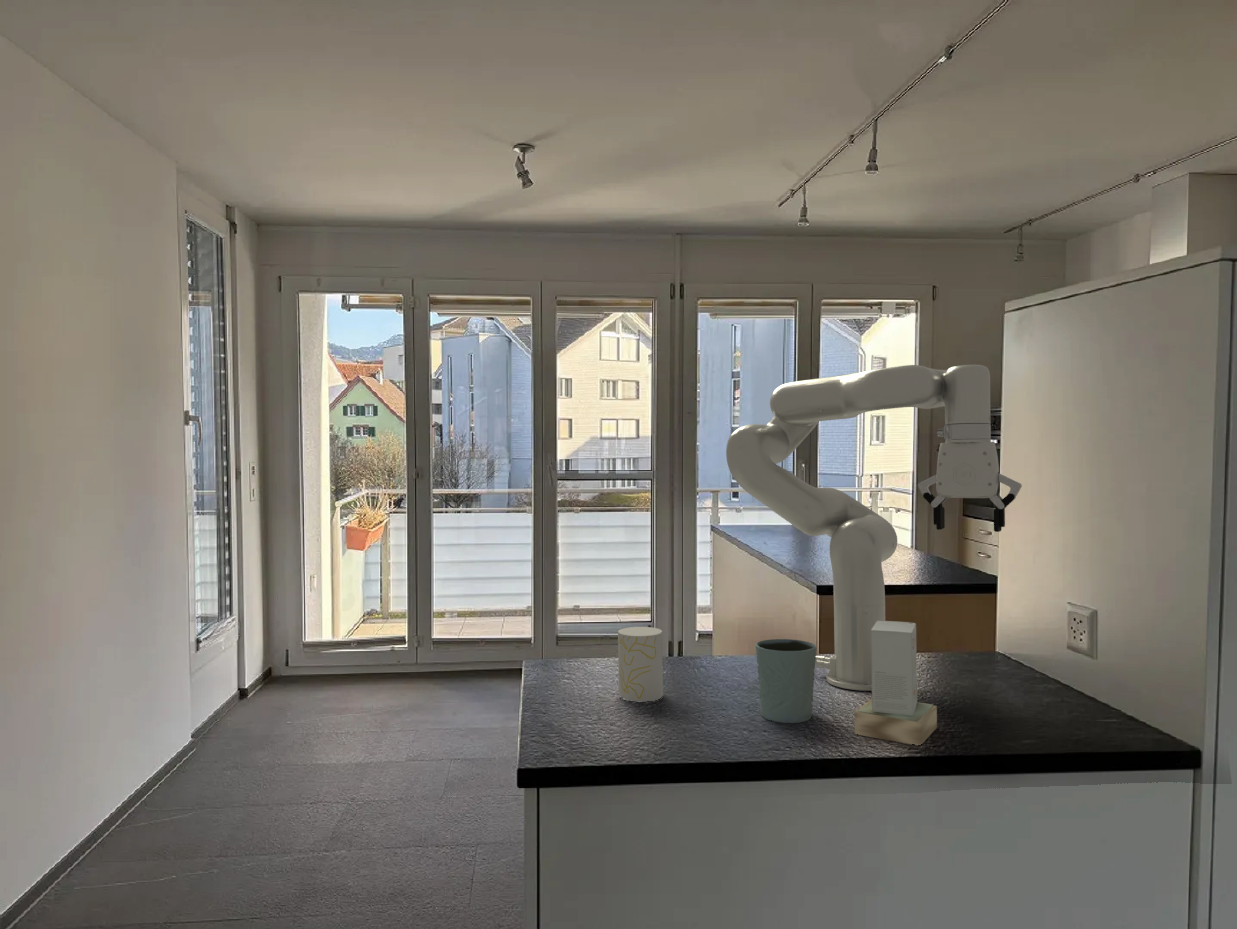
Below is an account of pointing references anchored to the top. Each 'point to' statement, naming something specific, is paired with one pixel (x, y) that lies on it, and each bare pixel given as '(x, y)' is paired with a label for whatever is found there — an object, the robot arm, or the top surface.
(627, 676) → the cream patterned cylinder
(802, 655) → the green tumbler
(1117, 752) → the top surface
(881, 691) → the small box
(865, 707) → the plinth
